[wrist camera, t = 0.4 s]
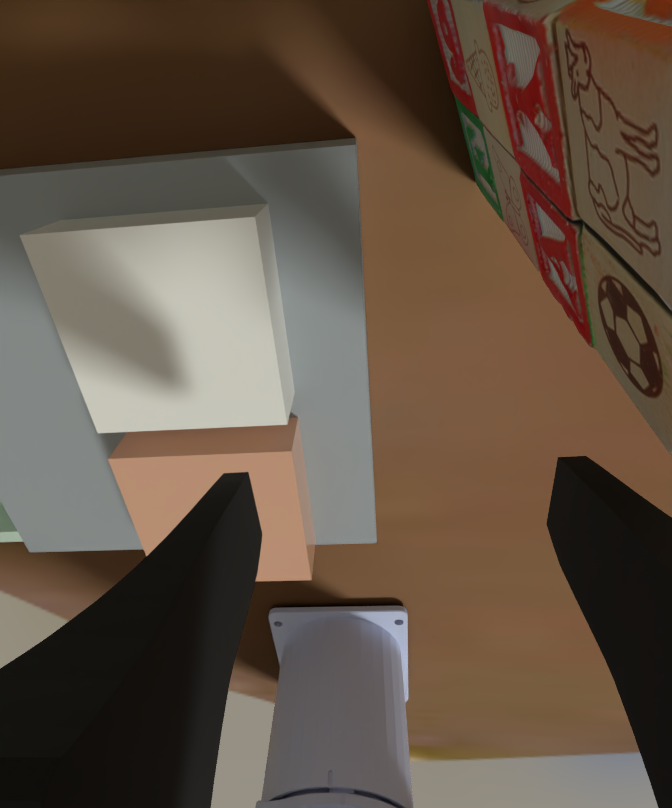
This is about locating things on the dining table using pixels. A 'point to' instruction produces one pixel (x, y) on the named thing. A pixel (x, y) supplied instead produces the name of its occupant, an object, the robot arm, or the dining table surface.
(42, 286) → the cream tile
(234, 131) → the dining table surface
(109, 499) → the board
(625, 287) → the printed cardboard box
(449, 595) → the dining table surface
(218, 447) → the terracotta tile
